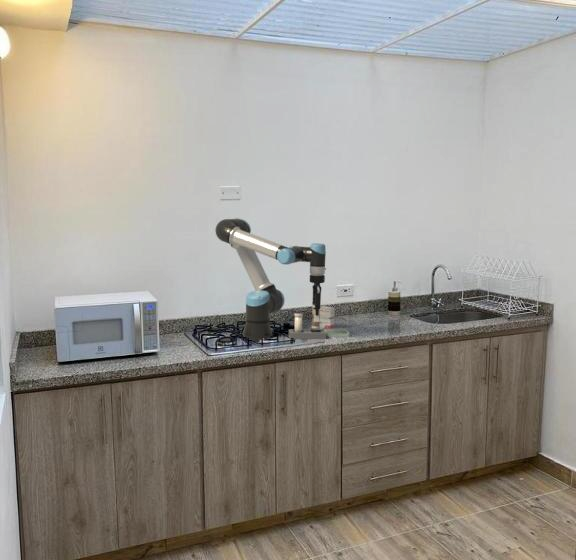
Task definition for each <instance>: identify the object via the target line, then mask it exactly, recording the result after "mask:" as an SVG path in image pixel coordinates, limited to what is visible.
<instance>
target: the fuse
mask: <svg viewBox="0 0 576 560" xmlns="http://www.w3.org/2000/svg"><path fill="white" fill-rule="evenodd" d="M303 316H304V313H302V312H294V329H295V332H302V329H303Z"/></svg>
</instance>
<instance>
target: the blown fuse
mask: <svg viewBox="0 0 576 560" xmlns="http://www.w3.org/2000/svg"><path fill="white" fill-rule="evenodd" d="M320 306H322V305H321V304H320ZM314 307H315V304H314V305H313V304H311V308H312V309H311V328H310V329H321V328H320V326H319V324H320V314H319V322H314V309H313V308H314Z"/></svg>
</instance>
